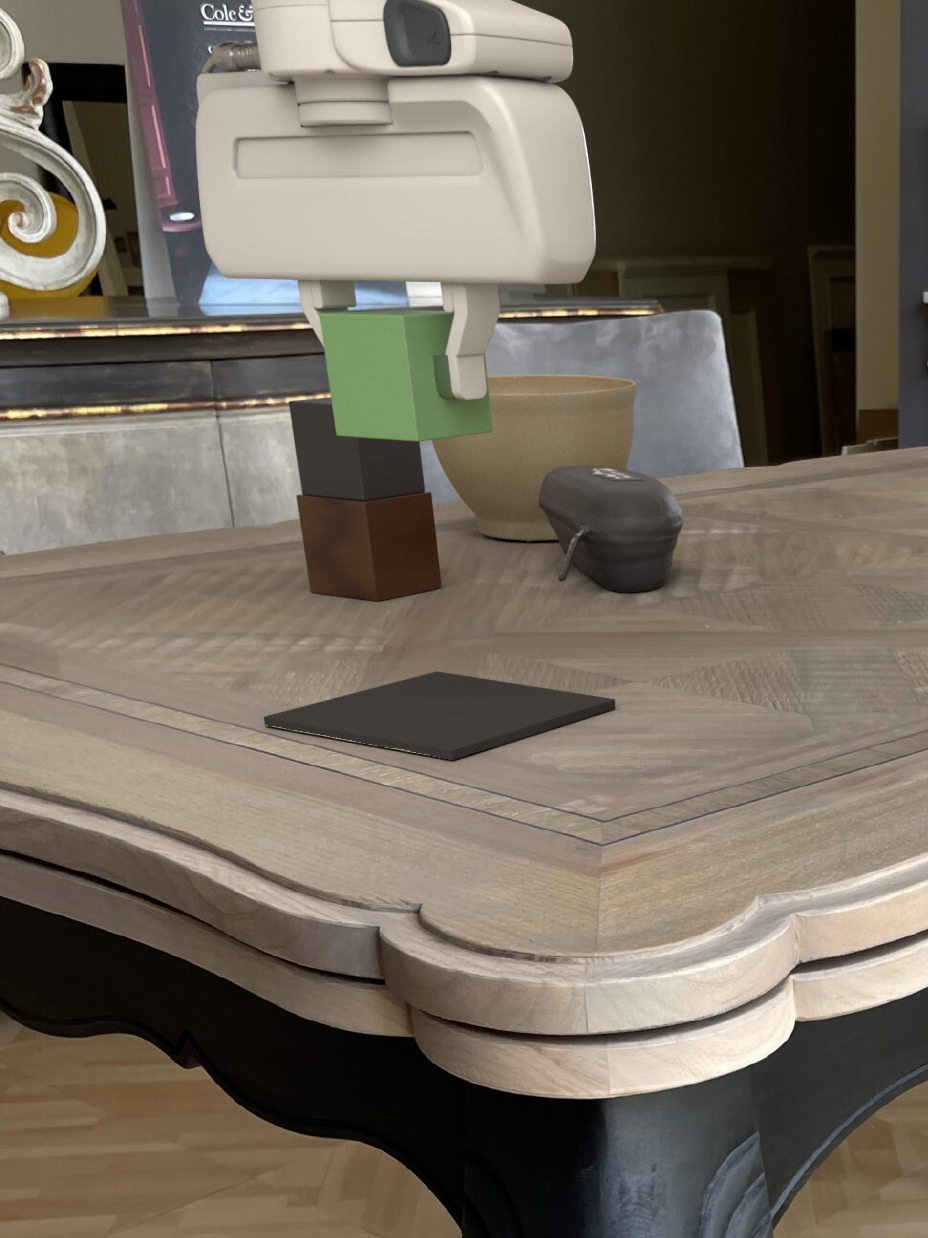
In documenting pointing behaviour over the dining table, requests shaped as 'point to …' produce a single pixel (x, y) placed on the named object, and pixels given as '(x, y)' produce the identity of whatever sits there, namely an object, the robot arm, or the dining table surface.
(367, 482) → the charcoal block
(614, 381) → the planter bowl
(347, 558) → the walnut block
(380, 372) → the green block
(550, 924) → the dining table surface
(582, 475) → the glasses case
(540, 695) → the coaster
